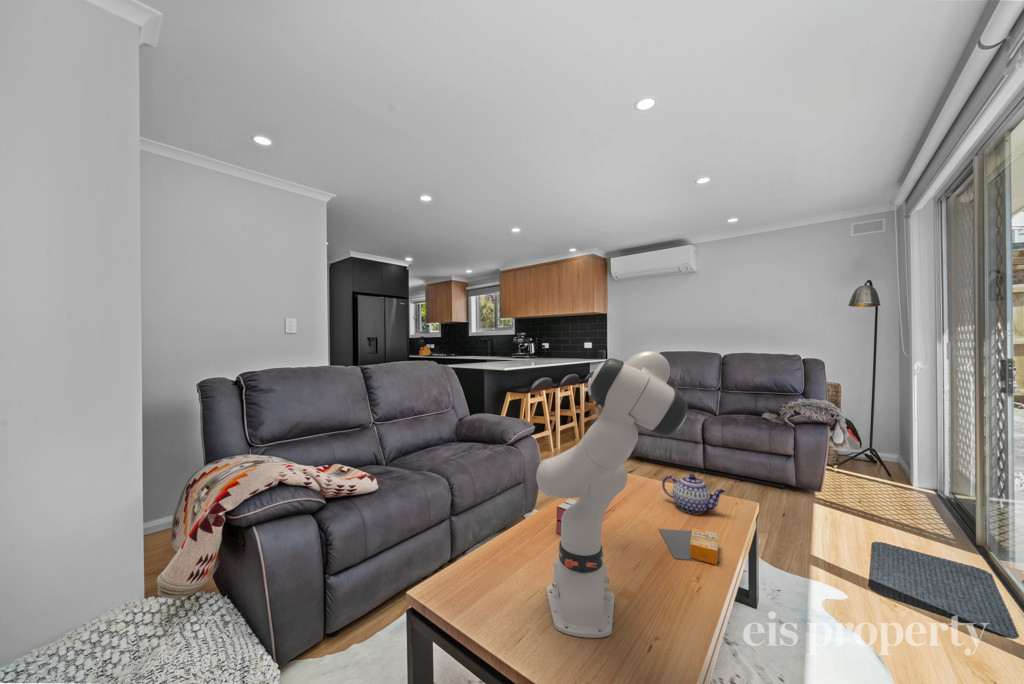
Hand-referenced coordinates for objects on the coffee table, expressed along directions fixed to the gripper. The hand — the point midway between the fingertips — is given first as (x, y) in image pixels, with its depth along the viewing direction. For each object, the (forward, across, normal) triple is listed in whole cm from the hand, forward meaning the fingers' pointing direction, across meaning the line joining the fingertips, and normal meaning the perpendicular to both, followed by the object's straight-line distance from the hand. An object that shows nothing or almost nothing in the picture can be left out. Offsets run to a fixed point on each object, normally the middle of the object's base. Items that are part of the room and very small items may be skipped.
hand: (622, 447), depth 135 cm
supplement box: (+31, -8, -25) cm, 41 cm away
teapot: (+34, +34, -35) cm, 60 cm away
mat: (+34, +3, -23) cm, 41 cm away
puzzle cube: (+34, +6, +16) cm, 38 cm away
